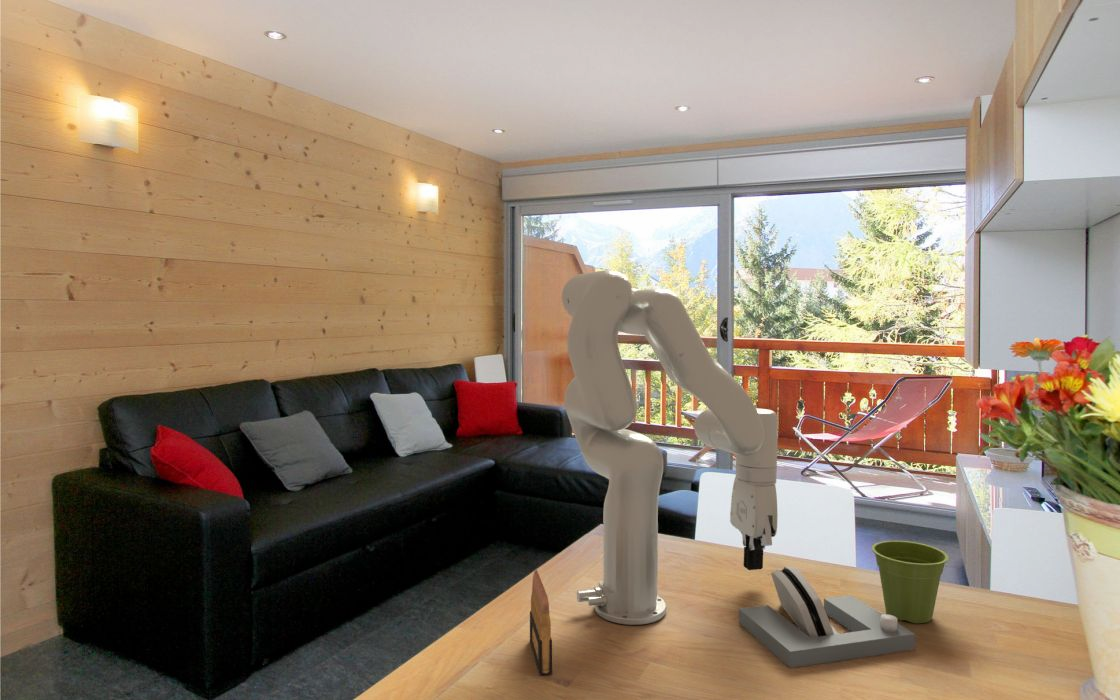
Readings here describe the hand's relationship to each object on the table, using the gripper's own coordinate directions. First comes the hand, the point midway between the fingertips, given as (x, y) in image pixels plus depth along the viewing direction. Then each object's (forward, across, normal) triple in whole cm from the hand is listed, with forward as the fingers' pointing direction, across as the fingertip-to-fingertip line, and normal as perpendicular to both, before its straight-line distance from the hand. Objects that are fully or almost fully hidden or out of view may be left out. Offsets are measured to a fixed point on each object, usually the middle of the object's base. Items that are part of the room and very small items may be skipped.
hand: (753, 567), depth 130 cm
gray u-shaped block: (+4, +21, +1) cm, 21 cm away
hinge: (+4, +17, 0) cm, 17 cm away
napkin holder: (+5, +16, -45) cm, 48 cm away
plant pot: (+4, +18, +20) cm, 27 cm away
